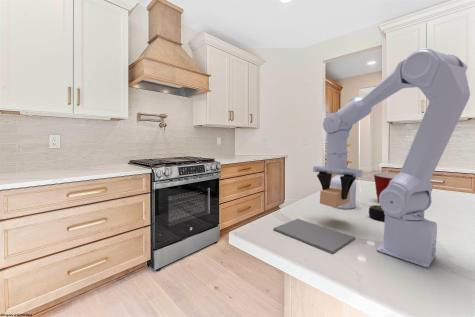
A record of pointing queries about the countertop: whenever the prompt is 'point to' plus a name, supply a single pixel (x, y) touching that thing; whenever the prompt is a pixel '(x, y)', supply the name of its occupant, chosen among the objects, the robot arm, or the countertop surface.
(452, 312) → the countertop surface
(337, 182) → the soap bottle
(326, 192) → the card case
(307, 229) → the mat
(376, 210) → the tape measure
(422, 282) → the countertop surface
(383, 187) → the plastic cup
